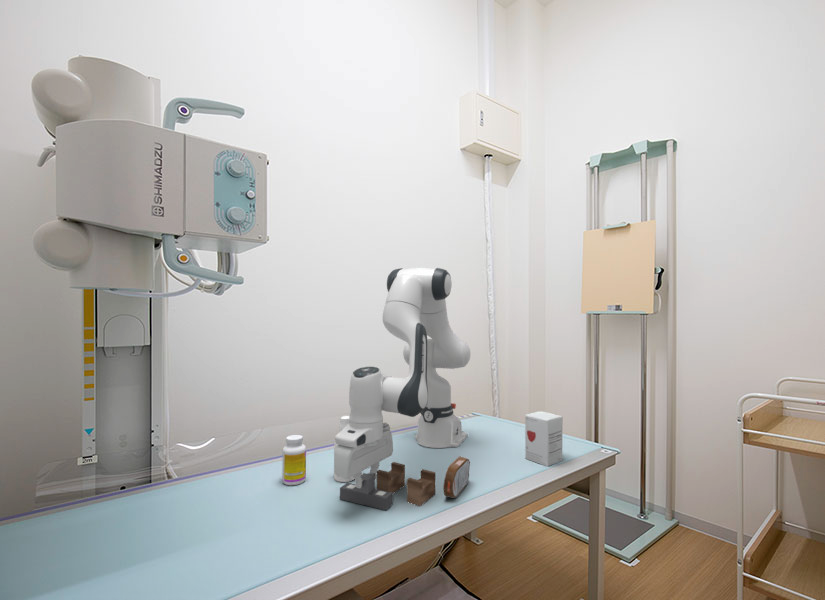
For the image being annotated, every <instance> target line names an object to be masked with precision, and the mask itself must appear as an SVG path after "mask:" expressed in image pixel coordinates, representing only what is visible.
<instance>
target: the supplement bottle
mask: <svg viewBox="0 0 825 600" xmlns="http://www.w3.org/2000/svg"><path fill="white" fill-rule="evenodd" d="M285 438H286V439H285V442H286V445H284V447H283V448H282V468H281V469H282V473H281V474H282V477H281V478H282V480H281V481H282V483H283V484H284V485H287V486H296V485H300V484H303V483H304V482H305V481H306V479H307V477H306V476H307V447H306V445H305V444H303V441H304V439H303V438H304V437H303V435H301V434H300V435H299V434H291V435H288V436H287V437H285Z"/></svg>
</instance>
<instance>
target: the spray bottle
mask: <svg viewBox="0 0 825 600" xmlns="http://www.w3.org/2000/svg"><path fill="white" fill-rule="evenodd" d="M349 417H350V415H342V416H341V417H340V418H339V420H340V421H339V426H338V428H339V431H338V433H339V432H341V431H342V430H343V429H344V428H345V427H346V426H347V425H348V424H349ZM338 445H339V444H336V443H335V440H334V443H333V446H334V447H333V459H334V458H335V450H336V447H337V446H338ZM333 478H334V480H335V481H336V482H340V483H350V482H352V480H353V481H355V480H354V478H353V476H352V477H350V478H348V479H343V478H340V477H337V476H336V474H335V471H334V470H333Z"/></svg>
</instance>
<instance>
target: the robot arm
mask: <svg viewBox="0 0 825 600" xmlns="http://www.w3.org/2000/svg"><path fill="white" fill-rule="evenodd" d="M452 284H453V282H452V277H451V274H450V272H448V270H446V269H444V268H440V267H437V268H432V267H420V266H419V267H408V268H400V267H399V268H395V269H393V270H392V271H391V272H390V273H389V274H388V276H387V280H386V289H387V297H386V299H385V303H384V306H383V307H384V308H383V310H382V311H383V312H382V323H383V325H384V328H385V329H386V330H387V332H389V333H390V334H391V335H392V336H393V337H394V336H395V337H396V338H397V339H400V340H401V341H403V342H405V345H404V347H403V351H402V355H403V359H404V362H405V363H407V365H408V375H407V376H406V377H400V376H392V375H391V376H389V375H386V374H383V373H382V372H381V370H380V368H378V367H376V366H365V367H363V366H362V367H359V368H357V369H355V370H354V371H353V372H352V373H351V377H350V381H349V392H348V394H349V395H348V404H349V408H350V414H349V416H350V417H349V424H348V425H347V426H346V427H345V428H344V429H343V430H342V431H341V432H339V431H338V433H337V434H336V435H335V436H334V441H335V443H336V444H339V445H338V446H337V447H336V450H335V458H334V457H333V472H334V471H335V474H336V476H337V477H340V478H343V479H348V478H350V477H352V476H353V478H354V479H355V480H354V482H355V483H354V484H355V486H356V488H361V487H363V486H364V480H363V479H361V475H362V474H363V471H365V470H367V469H369V468H370V470H369V472H368V473H367V474H370V475H375V480H377V471H378V470H379V469H380V462H382V461H384V460H386V459H388V458H390V457H391V456H392V455H393V452H394V441H393V434H392V432H391V425H389V424H388V423H387V422H384V417H383V412H385V413H386V412H387V413H394V414H400V415H403V416H407V417H411V418H414V417H416V416H418V415H419V414H420V415H419V417H418V419H417V421H418V422H417V430H416V432H417V433H416V434H415V435H414V439H415V440H417V441H416V442H417V444H419V445H421V446H422V447H426V448H432V449H434V448H435V449H445V448H458V447H460V446H461V444H462V443H463V442H464V441H465V440H466V439H467V437H468V433H467V432H466V431H463V428H462V427H463V426H462V421H461V420H460V419H459V418H458V417H457V416H455V414H454V410H455V409H456V407H457V405H456V403H453V402H452V399H451V398H452V386H451V384H450V382H449V381H448V380H447V379H446V378H444V377H442V376H441V375H440V374H439V373H438V371H437V369H450V370H453V369H454V370H455V369H461V368H465V367H466V366H467V365H468V364H469V362H470V360H471V349H470V347H469V345H468V344H467V343H466V342H465V341H464V340H462V339H461V338H459V336H457V335H456V334H455V333H454V331H453V329H452V328H451V326H450V322H449V317H448V311H447V301H446V298H448V297H449V296H450V294H451V290H452ZM428 337H429V338H428Z"/></svg>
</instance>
